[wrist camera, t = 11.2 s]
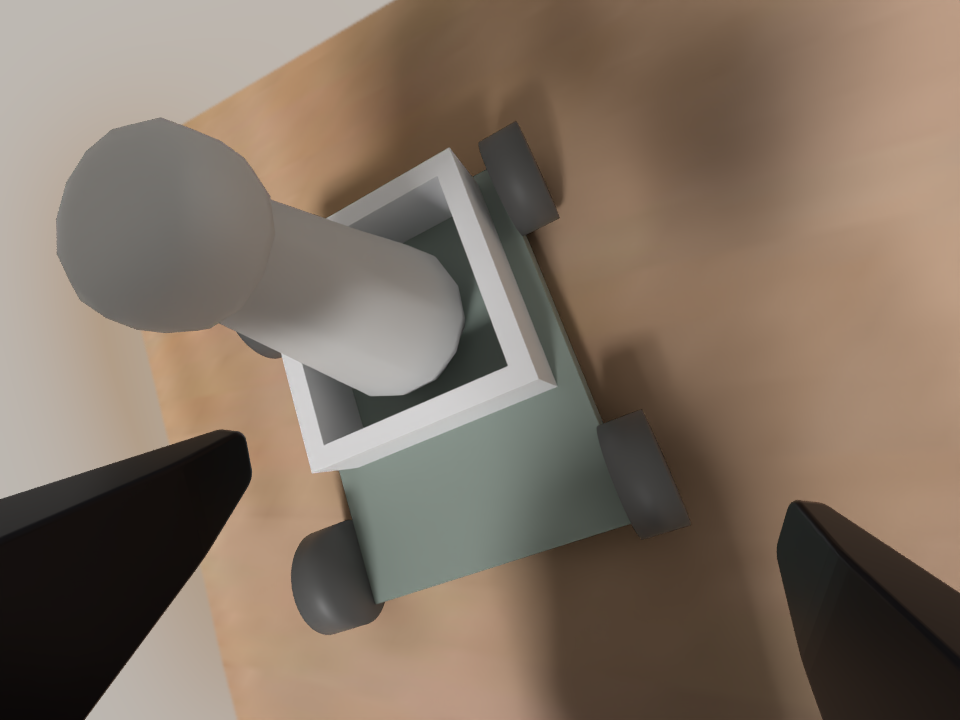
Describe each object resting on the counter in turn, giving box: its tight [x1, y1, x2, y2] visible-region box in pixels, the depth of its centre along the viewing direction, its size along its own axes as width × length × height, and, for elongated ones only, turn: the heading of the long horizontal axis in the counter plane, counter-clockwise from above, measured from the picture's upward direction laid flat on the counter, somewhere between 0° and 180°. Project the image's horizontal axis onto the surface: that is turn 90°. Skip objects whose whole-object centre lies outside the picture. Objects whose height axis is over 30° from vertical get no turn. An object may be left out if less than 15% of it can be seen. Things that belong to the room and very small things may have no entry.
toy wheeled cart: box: [237, 121, 691, 635], centre depth 21 cm, size 16×14×4 cm
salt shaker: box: [56, 118, 465, 396], centre depth 16 cm, size 6×6×13 cm
